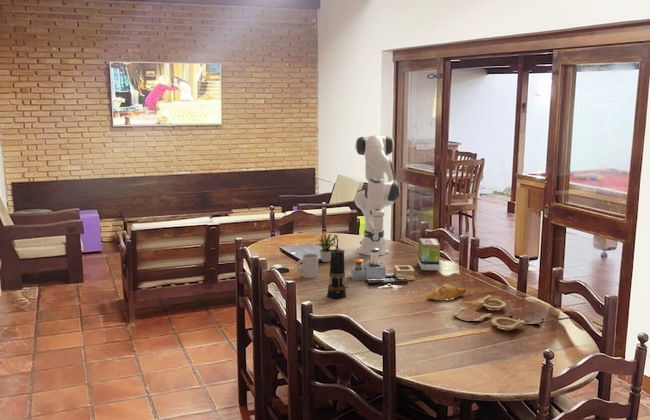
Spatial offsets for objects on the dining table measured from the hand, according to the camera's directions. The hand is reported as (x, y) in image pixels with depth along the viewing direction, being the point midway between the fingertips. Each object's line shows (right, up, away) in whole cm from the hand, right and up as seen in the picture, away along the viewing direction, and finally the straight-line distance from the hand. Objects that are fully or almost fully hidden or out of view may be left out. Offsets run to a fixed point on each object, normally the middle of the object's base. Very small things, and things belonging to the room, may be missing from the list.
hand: (374, 235), depth 318 cm
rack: (+16, -22, +6) cm, 28 cm away
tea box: (+32, -19, +25) cm, 45 cm away
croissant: (+32, -29, -24) cm, 50 cm away
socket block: (0, -23, +5) cm, 23 cm away
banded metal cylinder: (0, -21, +4) cm, 21 cm away
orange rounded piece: (-8, -22, +4) cm, 24 cm away
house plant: (-25, -17, +34) cm, 45 cm away
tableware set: (+50, -35, -50) cm, 79 cm away
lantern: (-20, -28, -24) cm, 42 cm away
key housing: (-8, -23, +4) cm, 24 cm away
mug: (-35, -22, +6) cm, 42 cm away
